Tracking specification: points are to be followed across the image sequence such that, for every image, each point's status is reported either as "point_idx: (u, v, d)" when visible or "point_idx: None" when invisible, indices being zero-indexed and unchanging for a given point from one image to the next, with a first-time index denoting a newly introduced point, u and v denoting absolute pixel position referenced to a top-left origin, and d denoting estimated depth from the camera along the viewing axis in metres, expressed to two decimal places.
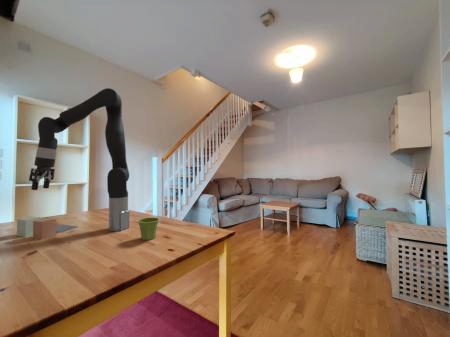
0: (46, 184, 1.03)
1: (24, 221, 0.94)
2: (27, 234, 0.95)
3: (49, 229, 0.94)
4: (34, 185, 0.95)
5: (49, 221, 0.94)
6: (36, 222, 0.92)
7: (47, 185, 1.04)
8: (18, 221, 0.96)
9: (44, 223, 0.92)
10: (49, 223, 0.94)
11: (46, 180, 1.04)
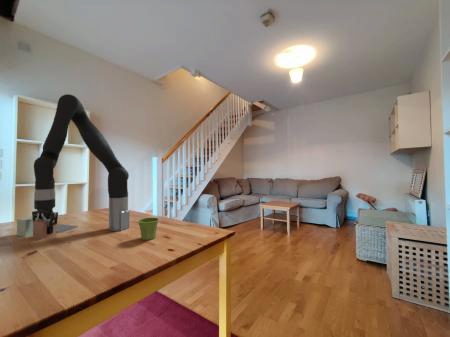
0: None
1: (24, 221, 0.94)
2: (27, 234, 0.95)
3: None
4: (52, 229, 0.94)
5: (49, 221, 0.94)
6: (36, 222, 0.92)
7: None
8: (18, 221, 0.96)
9: (44, 223, 0.92)
10: (49, 223, 0.94)
11: None
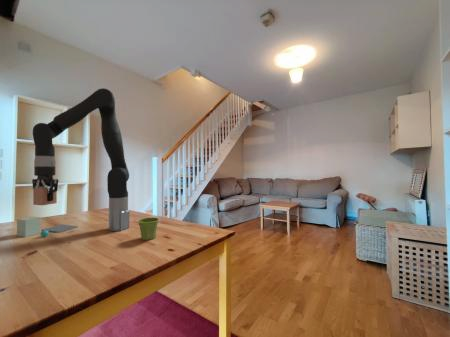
0: None
1: (24, 221, 0.94)
2: (27, 234, 0.95)
3: None
4: (52, 196, 0.94)
5: (49, 188, 0.94)
6: (36, 189, 0.92)
7: None
8: (18, 221, 0.96)
9: (44, 189, 0.92)
10: None
11: None
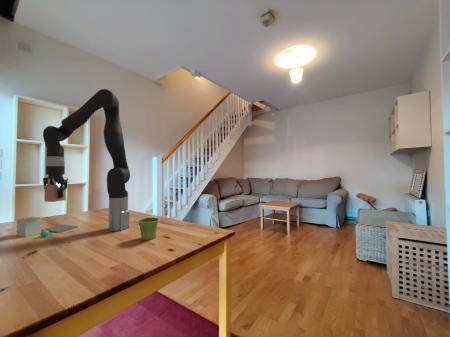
0: None
1: (24, 221, 0.94)
2: (27, 234, 0.95)
3: None
4: (62, 193, 1.02)
5: (59, 186, 1.02)
6: (47, 186, 1.00)
7: None
8: (18, 221, 0.96)
9: (55, 187, 1.00)
10: None
11: None
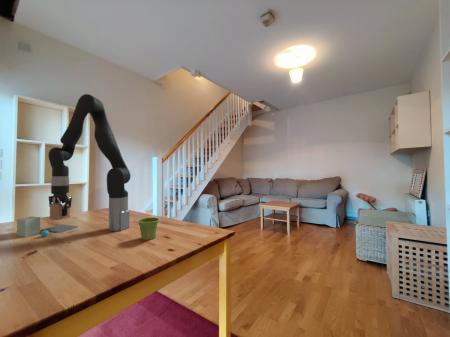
0: None
1: (24, 221, 0.94)
2: (27, 234, 0.95)
3: None
4: (66, 211, 1.06)
5: (64, 205, 1.06)
6: (53, 205, 1.05)
7: None
8: (18, 221, 0.96)
9: (60, 206, 1.04)
10: (64, 206, 1.06)
11: None
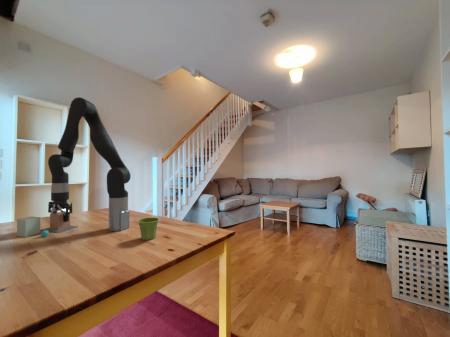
0: None
1: (24, 221, 0.94)
2: (27, 234, 0.95)
3: None
4: (68, 217, 1.06)
5: None
6: (53, 215, 1.04)
7: None
8: (18, 221, 0.96)
9: (60, 216, 1.04)
10: None
11: None
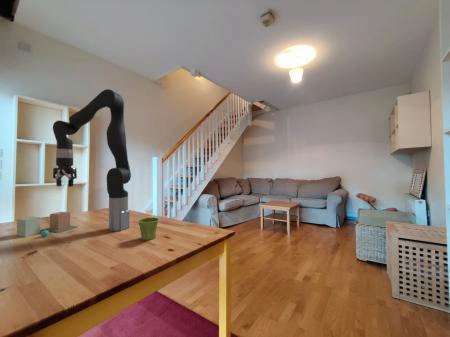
0: (59, 182, 1.12)
1: (24, 221, 0.94)
2: (27, 234, 0.95)
3: (64, 221, 1.06)
4: (72, 182, 1.10)
5: (64, 214, 1.06)
6: (53, 215, 1.04)
7: (60, 183, 1.12)
8: (18, 221, 0.96)
9: (60, 216, 1.04)
10: (64, 216, 1.06)
11: (58, 178, 1.12)
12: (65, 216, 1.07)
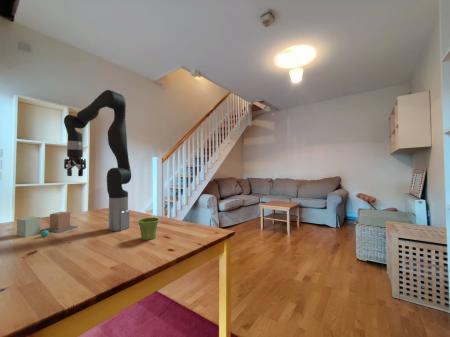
0: (70, 172, 1.20)
1: (24, 221, 0.94)
2: (27, 234, 0.95)
3: (64, 221, 1.06)
4: (82, 172, 1.18)
5: (64, 214, 1.06)
6: (53, 215, 1.04)
7: (71, 173, 1.21)
8: (18, 221, 0.96)
9: (60, 216, 1.04)
10: (64, 216, 1.06)
11: (69, 169, 1.20)
12: (65, 216, 1.07)
